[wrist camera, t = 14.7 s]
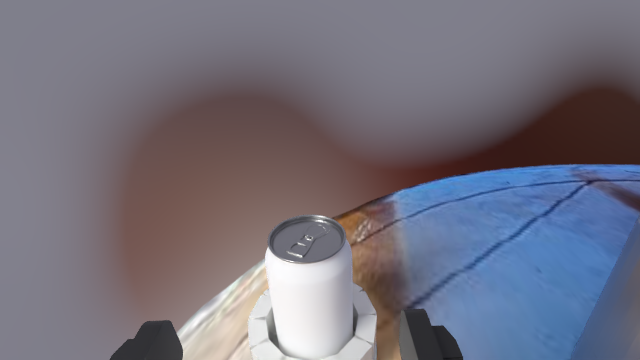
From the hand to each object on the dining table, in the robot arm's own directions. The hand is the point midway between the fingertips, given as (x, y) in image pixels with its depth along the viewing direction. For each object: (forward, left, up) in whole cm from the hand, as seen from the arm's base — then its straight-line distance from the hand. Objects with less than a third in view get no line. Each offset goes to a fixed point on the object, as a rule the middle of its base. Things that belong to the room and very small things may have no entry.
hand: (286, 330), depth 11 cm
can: (-3, -10, -16) cm, 19 cm away
